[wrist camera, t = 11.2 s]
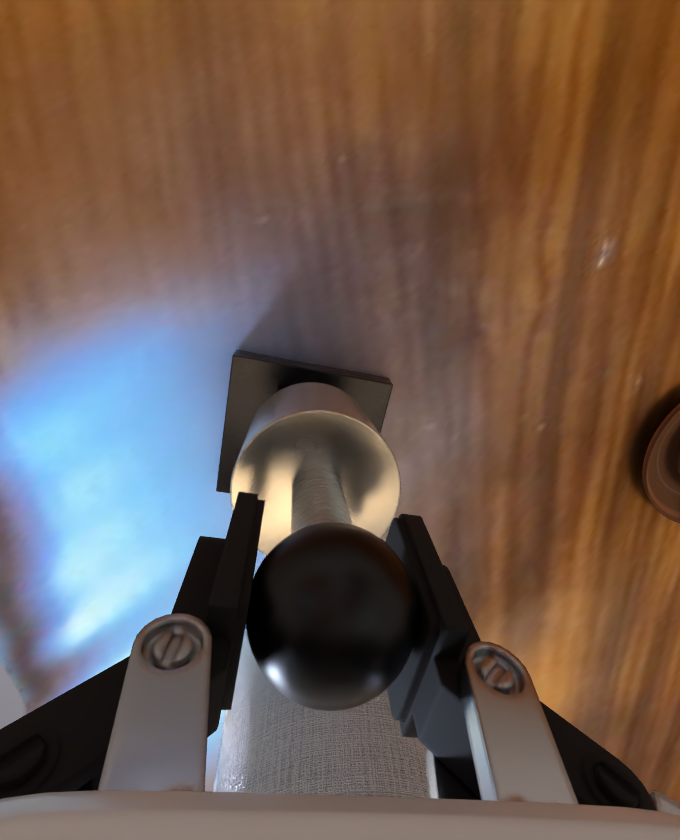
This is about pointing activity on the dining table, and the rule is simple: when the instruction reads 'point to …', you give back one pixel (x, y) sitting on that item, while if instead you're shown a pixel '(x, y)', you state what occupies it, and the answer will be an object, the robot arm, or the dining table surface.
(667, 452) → the cup and saucer
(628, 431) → the dining table surface
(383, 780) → the planter
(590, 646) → the dining table surface
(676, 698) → the dining table surface
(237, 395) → the dark grey lever base
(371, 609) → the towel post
